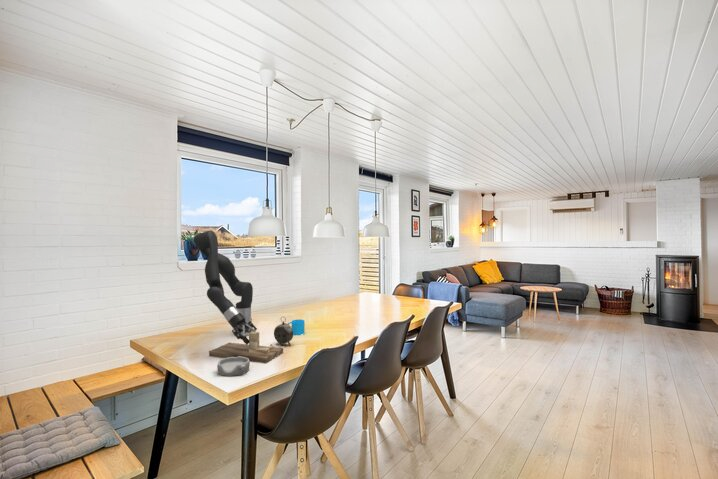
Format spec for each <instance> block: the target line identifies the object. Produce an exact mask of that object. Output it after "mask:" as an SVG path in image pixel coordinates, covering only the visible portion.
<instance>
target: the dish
mask: <svg viewBox="0 0 718 479" xmlns="http://www.w3.org/2000/svg"><path fill="white" fill-rule="evenodd" d="M250 362H251V361H249V359H248V358H246V357H241V356H238V357H228V358H220V360H218V361H217V372H218V374H219V375H221V376H227V377H233V376H240V375H243V374H245V373H247V372H248V371H249V369H250Z"/></svg>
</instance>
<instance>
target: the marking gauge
mask: <svg viewBox="0 0 718 479" xmlns="http://www.w3.org/2000/svg"><path fill="white" fill-rule="evenodd" d="M248 340H249V341H250V342H249V343H248V345H249V353H257V354H265V355H266V354H268V353H270V350H271V349H273V347H274V345H273V344H269V346H268V345H267V347H266V348H259V346H260V332H259V331H256V332H253V331H252V332H250V333H249V335H248Z"/></svg>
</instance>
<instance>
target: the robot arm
mask: <svg viewBox="0 0 718 479" xmlns="http://www.w3.org/2000/svg"><path fill="white" fill-rule="evenodd" d="M193 243H194V245H195V247H196V248H197V249H198V250H199V251H200V252H201V254H203V255H204V256H205V257H206V258H207V261H206V263H205V267H204V274H205V281H206V284H208V287H209V288H208V289H207V291H206V297H207V298H208V299H209V301H210V302H211V303H212V304H213V305H214V306H215V307H217V309H218V310H219V312H220V313H221V314H222V315H223V317H224V319H225V320H226V321H227V322H228V324H229V325H230V327H231V328H232V330H231V332H232V334H233V335H234V336H235V337H236V339H237V340H242V341H243V344H248V345H249V342H250V341H249V333H250V332H252V331H253V332H257V330H258V328H257V327H256V326H255V325H254V323H253V319H252V303H253V294H254V293H253V291H254V288H253V287H254V286H253V285H252V283H251V282H248V281H241V280H240V279H238V277H237V276H236V267H235V266H234V264H233V262H232V261H231V259H230V258H229V257H228V256H226V255H223V254H222V253H219V241H218V236H217V234H216V232H215V231H213V230H212V229H211V230H206V231H203V232H200V233H197V234H196V235H194V236H193ZM220 275H221V276H220ZM221 277H222V278H223V280H224V281H225V283H226V284H227V285H228V286H229V288H230V290H231V291H232V293H233V294H234V295H235V296H237V297H241V299H240V301H238V302H236V304H235V305H234V304H233V302H232V301H231V300H230V299H229V298H227V297H226V296H225V289H224V285H223V284H222V281H221ZM247 336H248V337H247Z"/></svg>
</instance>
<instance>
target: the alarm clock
mask: <svg viewBox="0 0 718 479" xmlns="http://www.w3.org/2000/svg"><path fill="white" fill-rule="evenodd" d="M282 318H284V321H282V320H280V322H282V323H280V324H278V325H277V326H276V327H274V330H273V337H274V339H275V340H276V342H277V344H279V346H280V347H281V346H282V345H283V344H284V345H286V344H287V343H288V345H289V346H291V343H290V342H291V341H292V340H293V337H294V335H293V330H292V326H290V324H289V325H288V323H285V322H286V321H287V320H286V319H287V318H286V317H285V316H281V317H280V319H282Z"/></svg>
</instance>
